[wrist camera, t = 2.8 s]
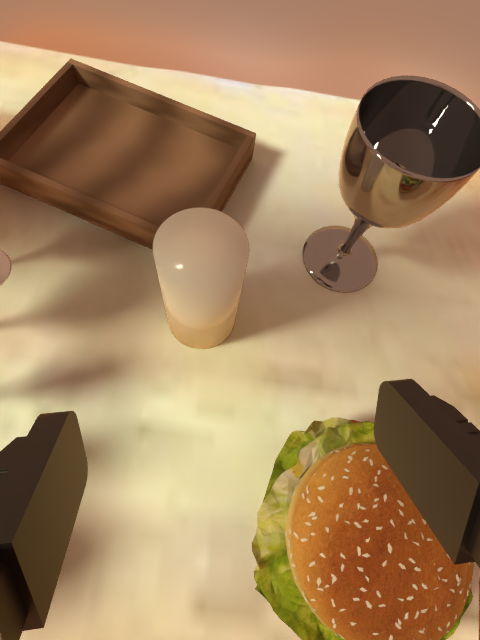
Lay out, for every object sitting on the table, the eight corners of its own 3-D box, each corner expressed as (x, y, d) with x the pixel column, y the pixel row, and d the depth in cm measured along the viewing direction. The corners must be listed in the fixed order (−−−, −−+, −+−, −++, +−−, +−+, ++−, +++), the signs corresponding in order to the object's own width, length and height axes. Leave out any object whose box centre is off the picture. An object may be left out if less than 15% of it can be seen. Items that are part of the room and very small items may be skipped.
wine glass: (283, 270, 35) (336, 137, 21) (319, 209, 38) (386, 57, 24) (363, 311, 34) (472, 201, 20) (393, 246, 37) (506, 110, 23)
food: (320, 387, 31) (356, 361, 24) (467, 513, 29) (558, 527, 22) (204, 532, 27) (204, 555, 20) (367, 696, 24) (438, 794, 17)
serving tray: (-4, 181, 36) (-22, 155, 33) (80, 88, 41) (70, 58, 38) (190, 266, 34) (189, 246, 31) (252, 158, 40) (256, 133, 37)
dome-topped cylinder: (156, 331, 32) (134, 265, 22) (186, 277, 34) (180, 194, 24) (217, 359, 31) (225, 306, 21) (244, 303, 34) (263, 229, 23)
